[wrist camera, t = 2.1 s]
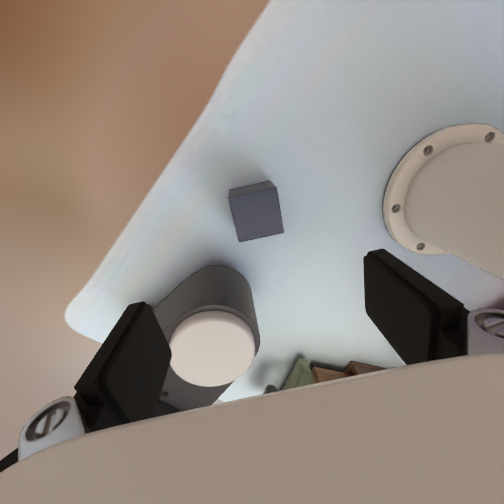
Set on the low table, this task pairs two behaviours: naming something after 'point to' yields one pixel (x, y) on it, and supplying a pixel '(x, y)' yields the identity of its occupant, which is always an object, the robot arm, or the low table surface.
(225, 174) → the low table surface
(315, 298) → the low table surface
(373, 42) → the low table surface
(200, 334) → the light fixture
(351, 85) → the low table surface
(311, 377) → the drawer
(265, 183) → the block
